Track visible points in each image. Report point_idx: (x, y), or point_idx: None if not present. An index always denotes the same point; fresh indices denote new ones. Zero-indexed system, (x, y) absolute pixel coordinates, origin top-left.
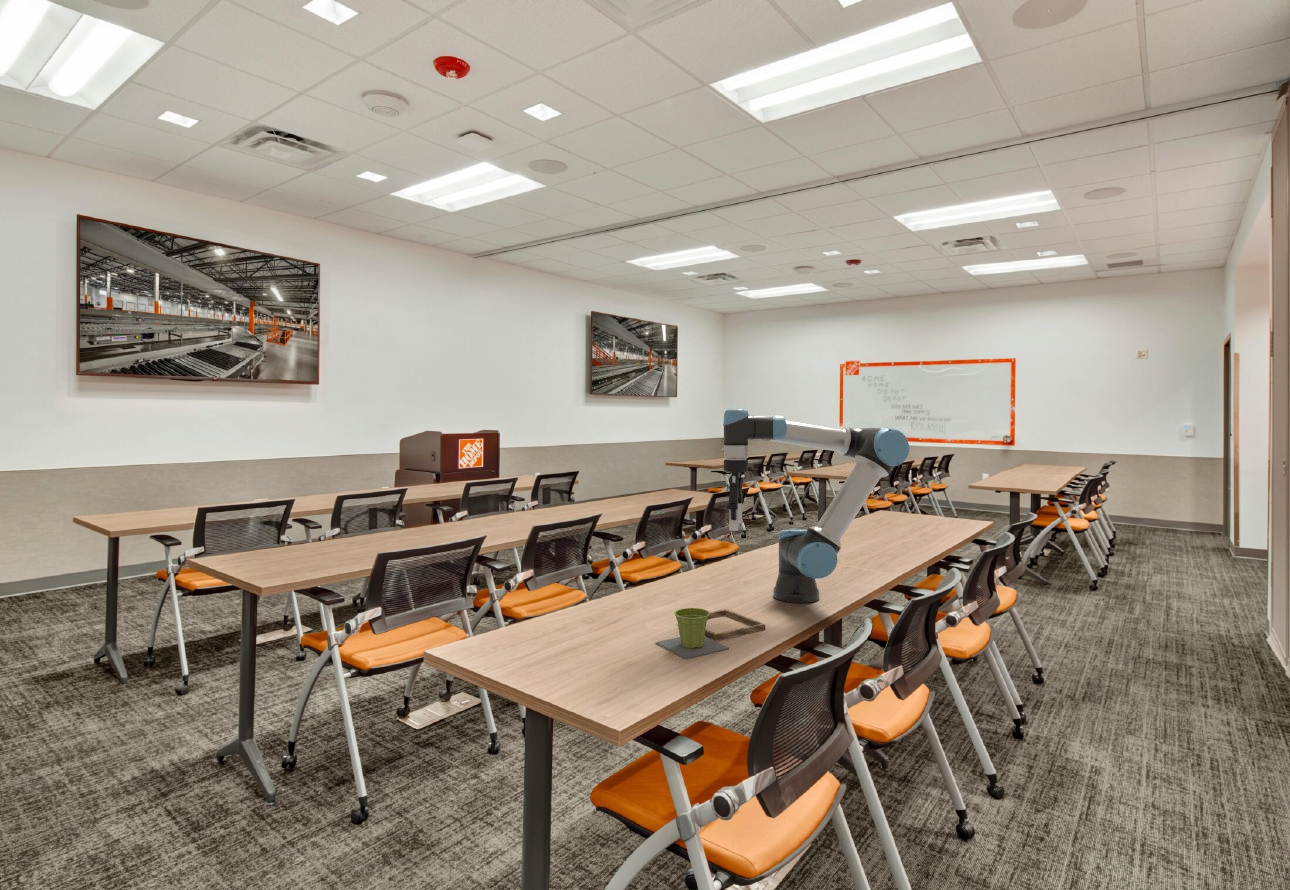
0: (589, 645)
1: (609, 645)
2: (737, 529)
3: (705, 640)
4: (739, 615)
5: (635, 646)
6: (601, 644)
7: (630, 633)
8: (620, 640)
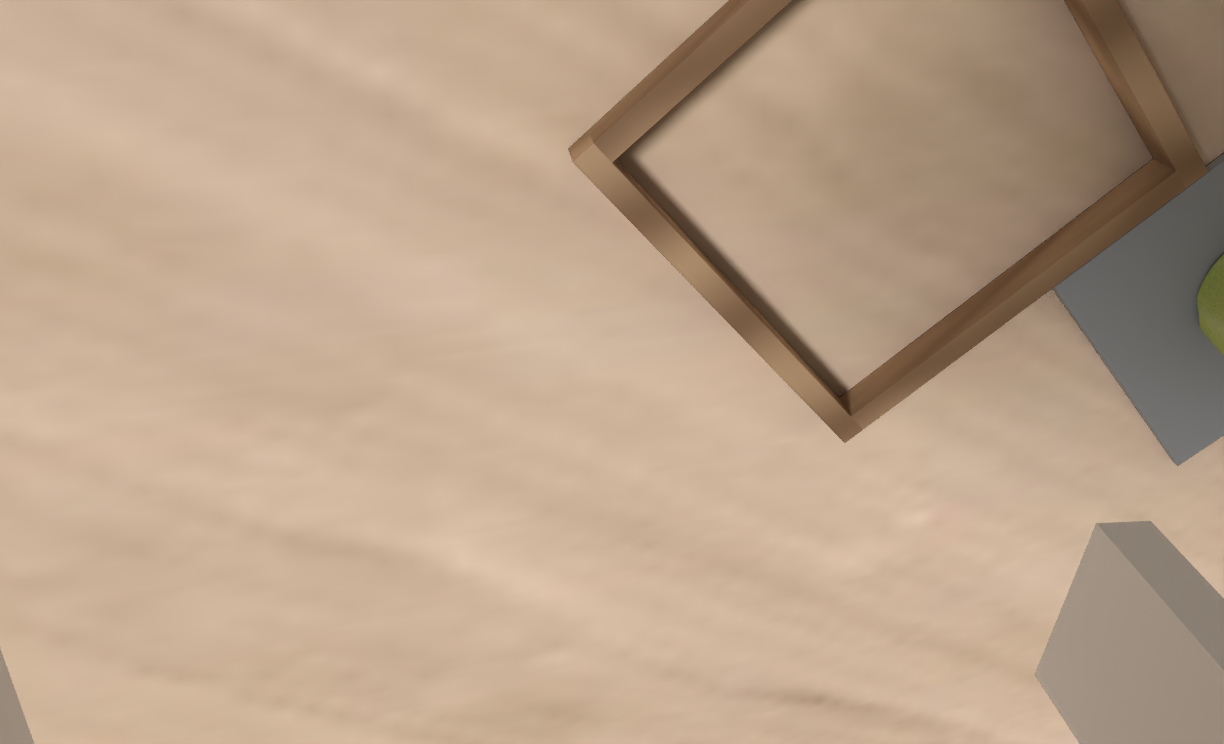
0: None
1: None
2: (1161, 554)
3: (1199, 222)
4: (748, 31)
5: (1194, 531)
6: None
7: (1001, 596)
8: None
